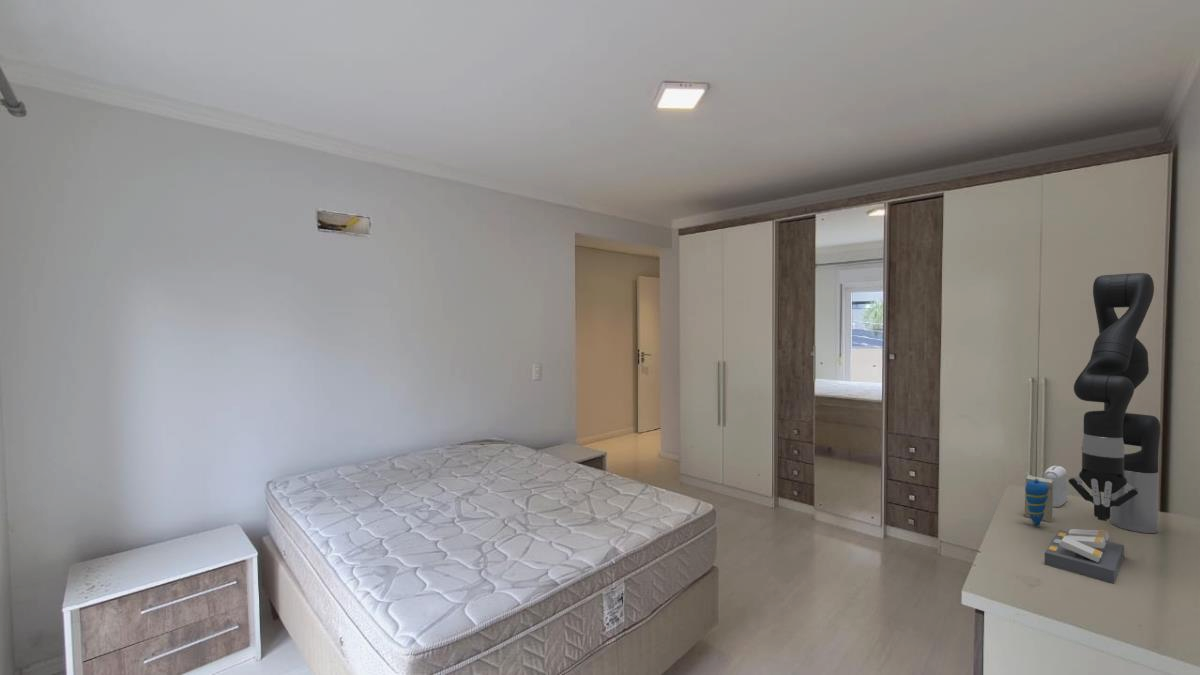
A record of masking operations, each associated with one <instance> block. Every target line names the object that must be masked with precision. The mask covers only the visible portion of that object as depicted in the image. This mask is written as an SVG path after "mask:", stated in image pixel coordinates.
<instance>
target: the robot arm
mask: <svg viewBox="0 0 1200 675" xmlns="http://www.w3.org/2000/svg"><path fill="white" fill-rule="evenodd" d="M1154 293H1155V286H1154V280H1153V277H1152V276H1151V275H1150V274H1149V273H1147V272H1146V273H1144V272H1135V273H1133V272H1131V273H1119V274H1118V273H1117V274H1103V275H1099V276H1097V277H1096V278H1095V279H1094V282H1093V285H1092V297H1093V304H1094V307H1095V314H1096V319H1097V320H1096V321H1097V324H1098V326H1097V327H1098V336H1097V338H1096V339H1095V340H1094V343H1093V347H1092V352H1091V355H1090V359H1089V360H1088V362H1087V364H1086V366H1085V367H1084V369H1083V370H1082V371H1081V372H1080V374H1079V375H1078V376H1077V378H1076V379H1075V382H1074V384H1073V392H1074V394H1075V396H1076V397H1077V398H1078V399H1079V400H1082V401H1084V402H1092V403H1093V402H1094V403H1103V410H1091V411H1090V410H1089V411H1086V412H1085V413H1084V414H1083V436H1082V440H1081V471H1080V472H1079V473H1078V475H1076V476H1074V477H1069V479H1068V483H1069V485H1071V486H1072V488H1074V490H1076V491H1077V493H1078V494H1079V495H1080V497H1082V498H1083V500H1085V501H1087V502H1090V503H1092V504H1093V515H1094V517H1095V518H1097V520H1100V521H1104V522H1107V520H1109V519H1110V523H1111V524H1112V525H1113V526H1116V527H1117V528H1121V529H1124V530H1128V531H1131V532H1137V533H1145V534H1157V533H1159V452H1160V438H1161V423H1160V421H1159V419H1158V418H1157V417H1156V416H1155V415H1150V414H1149V415H1148V414H1140V413H1133V412H1132V413H1129V412H1127V409H1128V406H1129V404H1130V403H1131V400H1132V398H1133V396H1134V393H1135V390H1136V389H1137V388H1138V387H1139V386H1140V385H1141V384H1142V383H1143V382H1144V381H1145V379H1146V378H1147V377H1148V376H1149V370H1150V369H1149V368H1150V367H1149V353H1148V352H1149V351H1148V350H1147V348H1146V346H1145V345H1144V344H1143V342H1141V341H1140V340H1139V339H1138V338H1137V336H1138V335H1137V334H1138V333H1139V331H1140V329H1141V327H1142V325H1143V322H1144V319H1145V318H1146V316H1147V313H1148V311H1149V308H1150V306H1151V303H1152V301H1153V299H1154ZM1116 308H1127V309H1126V311H1125V312H1124V314H1122V316H1121V317H1118V315H1117V313H1116V311H1115V309H1116ZM1125 445H1127V446H1134V447H1140V448H1141V450H1139V451H1136V452H1131V453H1127V454H1126V453H1125ZM1083 483H1084V484H1085V485H1086V486H1087V487H1088V488H1089V489H1090V490H1091V492H1092V495H1091V493H1090V492H1089V491H1088V490H1086V488H1085V487H1084V486H1083ZM1102 493H1103V499H1102Z"/></svg>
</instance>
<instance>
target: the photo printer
mask: <svg viewBox="0 0 1200 675" xmlns="http://www.w3.org/2000/svg"><path fill="white" fill-rule="evenodd" d="M1043 478H1045V479H1051V480H1053V508H1059V507H1062V506H1063V505H1065V504H1066V503H1067V501H1068V473H1067V470H1066V468H1064V466H1059V465H1052V466H1049V467H1048V468H1047V469H1046V470H1045V471H1044V474H1043ZM1066 496H1067V497H1066Z"/></svg>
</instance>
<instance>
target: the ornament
mask: <svg viewBox="0 0 1200 675" xmlns="http://www.w3.org/2000/svg"><path fill="white" fill-rule="evenodd" d="M1035 477H1036V479H1034V481H1029V482H1028V483H1027V485H1026V484H1025V487H1024V491H1026V494H1027V496H1026V499H1027V501H1028V503H1029V505H1028V508H1029V511H1030V517H1031V518H1030V517H1029V518H1030V519H1031V521H1032V523H1033V525H1034V526H1035V527H1036V526H1037V527H1038V528H1039V527H1040V524H1041V522H1042V521H1043V520H1042V518H1043V516H1044V509H1045V506H1046V504H1045V502H1046V500H1047V498H1048V495H1047V493H1048V491H1049V487H1048V486H1047V485H1046V484H1045V483H1043V482H1040V481H1039V479H1037V477H1038V476H1035Z"/></svg>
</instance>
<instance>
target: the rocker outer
mask: <svg viewBox="0 0 1200 675" xmlns="http://www.w3.org/2000/svg"><path fill="white" fill-rule="evenodd" d="M1060 546H1062V547H1064V548H1067V549H1069V550H1071V551H1073V552H1076V553H1078V554H1080V555H1082V556H1084V557H1087V558H1089V559H1091V560H1093V561H1096V562H1099V560H1100V558H1101V555H1102V553H1103V552H1101V551H1099V550H1097V549H1094V548H1091V547H1089V546H1087V545H1085V544H1082V543H1080V542H1078V541H1075V540H1073V539H1071V538H1068V537H1066V536H1064V538H1063V539H1062V541H1061V543H1060Z"/></svg>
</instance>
